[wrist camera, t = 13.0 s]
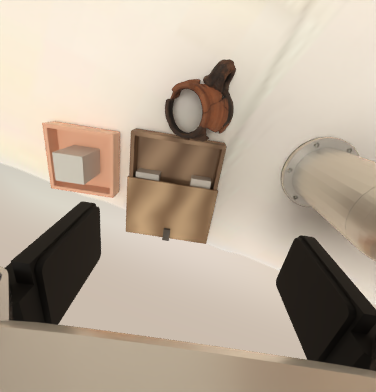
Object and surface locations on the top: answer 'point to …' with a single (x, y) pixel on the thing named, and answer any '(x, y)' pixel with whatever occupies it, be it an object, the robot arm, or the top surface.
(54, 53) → the top surface
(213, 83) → the broken pottery ring
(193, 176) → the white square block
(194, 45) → the top surface
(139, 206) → the sliding lid wooden box
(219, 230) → the top surface
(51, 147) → the terracotta tray
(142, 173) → the flat grey square block
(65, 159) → the stone block
